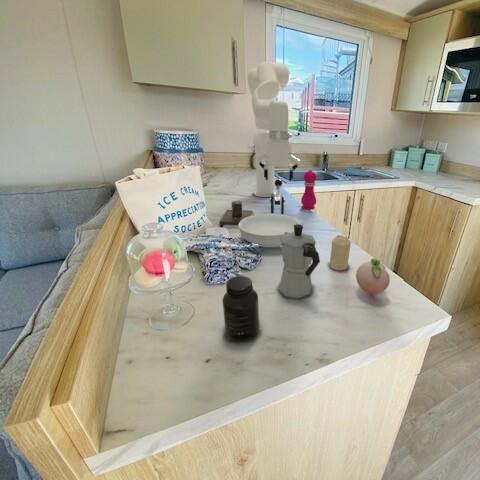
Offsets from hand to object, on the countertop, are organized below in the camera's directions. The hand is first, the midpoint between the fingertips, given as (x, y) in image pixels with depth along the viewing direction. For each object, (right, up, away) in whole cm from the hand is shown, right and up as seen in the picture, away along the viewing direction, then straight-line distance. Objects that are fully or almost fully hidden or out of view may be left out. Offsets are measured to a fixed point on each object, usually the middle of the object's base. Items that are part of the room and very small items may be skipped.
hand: (278, 179), depth 114 cm
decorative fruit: (+30, -39, -41) cm, 64 cm away
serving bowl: (-1, -26, -16) cm, 30 cm away
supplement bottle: (+1, -44, -56) cm, 72 cm away
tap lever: (0, -6, -1) cm, 6 cm away
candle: (+23, -33, -29) cm, 50 cm away
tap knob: (-16, -15, -3) cm, 22 cm away
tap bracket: (0, -18, -1) cm, 18 cm away
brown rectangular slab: (-16, -17, -2) cm, 24 cm away
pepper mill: (+12, -11, +18) cm, 24 cm away
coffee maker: (+11, -38, -42) cm, 58 cm away
